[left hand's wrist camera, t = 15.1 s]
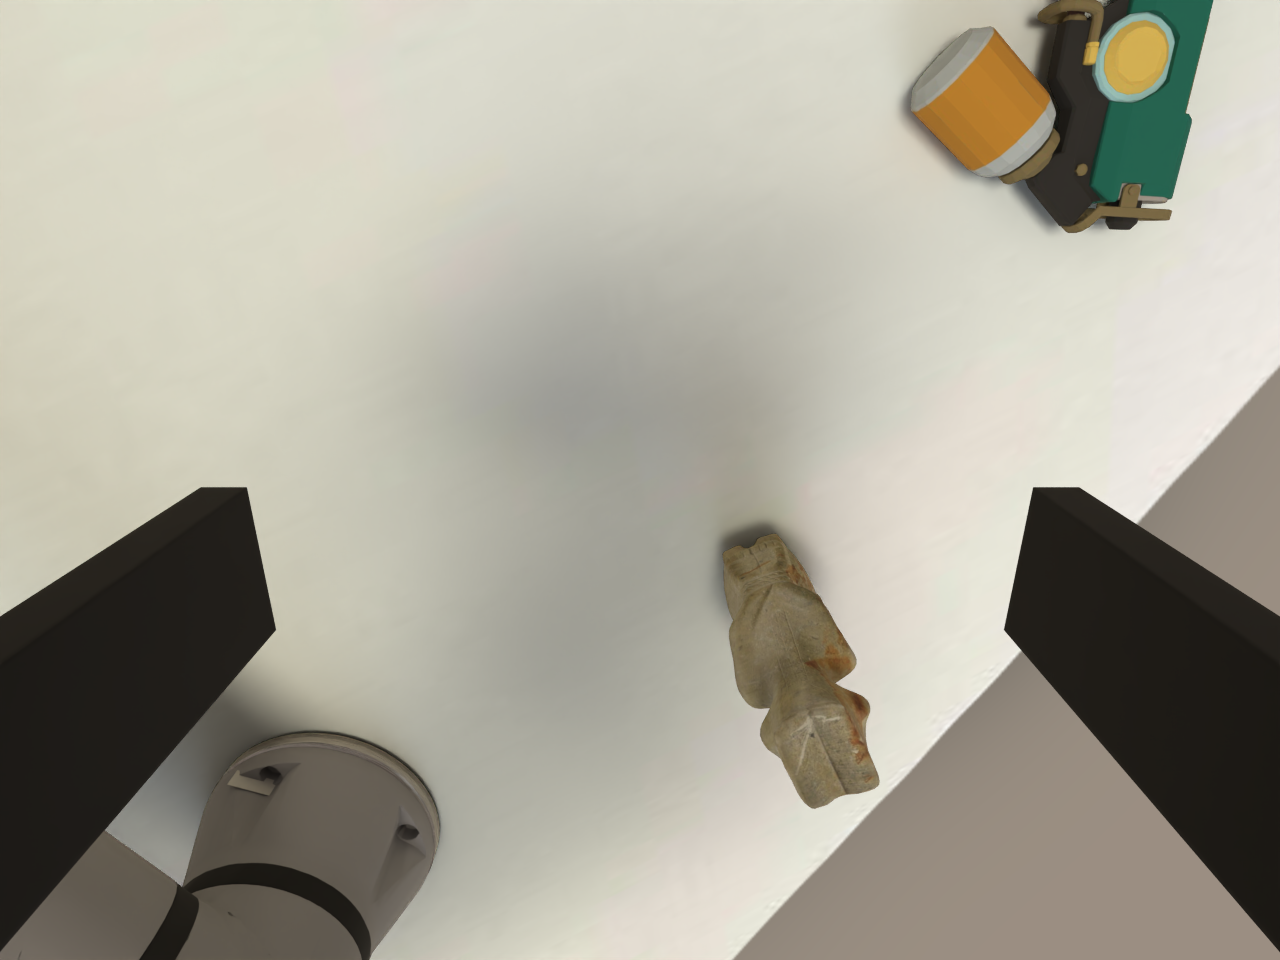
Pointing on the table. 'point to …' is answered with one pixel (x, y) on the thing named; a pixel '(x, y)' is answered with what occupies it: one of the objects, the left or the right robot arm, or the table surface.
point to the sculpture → (796, 672)
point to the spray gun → (1076, 107)
